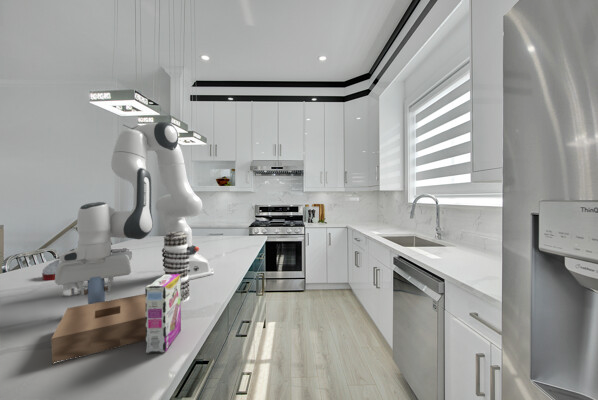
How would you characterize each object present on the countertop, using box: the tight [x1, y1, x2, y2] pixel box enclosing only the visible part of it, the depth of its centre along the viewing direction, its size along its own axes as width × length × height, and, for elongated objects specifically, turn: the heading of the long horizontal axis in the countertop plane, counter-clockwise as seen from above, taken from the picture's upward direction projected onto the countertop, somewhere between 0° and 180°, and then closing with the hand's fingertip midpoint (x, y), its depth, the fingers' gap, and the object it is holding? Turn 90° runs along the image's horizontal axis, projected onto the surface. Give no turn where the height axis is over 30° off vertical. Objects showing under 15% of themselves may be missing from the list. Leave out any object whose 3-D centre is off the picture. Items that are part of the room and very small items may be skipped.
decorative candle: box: [161, 231, 190, 304], centre depth 99 cm, size 9×9×25 cm
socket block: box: [51, 293, 146, 363], centre depth 76 cm, size 20×20×6 cm
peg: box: [87, 276, 106, 304], centre depth 90 cm, size 4×4×12 cm
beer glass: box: [58, 257, 82, 298], centre depth 107 cm, size 7×7×15 cm
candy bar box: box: [144, 274, 182, 354], centre depth 71 cm, size 11×5×16 cm, turn 5°
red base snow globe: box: [41, 259, 59, 282], centre depth 129 cm, size 11×10×10 cm
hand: (96, 292), depth 90 cm, fingers closed on peg, 4 cm apart
